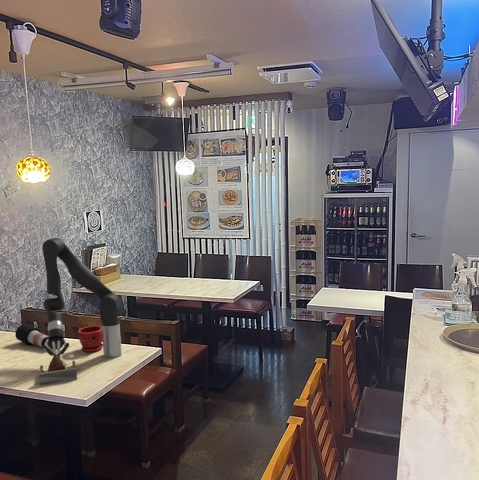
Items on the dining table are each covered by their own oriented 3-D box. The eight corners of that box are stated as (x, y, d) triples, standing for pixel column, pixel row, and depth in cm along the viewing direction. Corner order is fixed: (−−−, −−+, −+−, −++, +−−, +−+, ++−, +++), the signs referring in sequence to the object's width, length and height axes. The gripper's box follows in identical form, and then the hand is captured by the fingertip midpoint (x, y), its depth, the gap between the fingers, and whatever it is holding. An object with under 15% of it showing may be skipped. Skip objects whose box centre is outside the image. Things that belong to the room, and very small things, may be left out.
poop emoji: (44, 372, 233) (43, 354, 232) (61, 368, 239) (60, 350, 238) (52, 378, 226) (51, 359, 225) (69, 373, 231) (68, 355, 230)
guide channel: (40, 370, 236) (39, 360, 236) (75, 365, 242) (74, 355, 242) (39, 385, 218) (38, 374, 218) (77, 379, 224) (76, 369, 224)
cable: (55, 360, 263) (48, 347, 257) (20, 344, 281) (12, 331, 275) (69, 347, 269) (62, 335, 264) (33, 332, 287) (26, 320, 282)
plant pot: (95, 344, 275) (94, 324, 273) (108, 348, 266) (107, 328, 265) (74, 350, 265) (73, 329, 263) (88, 355, 256) (86, 333, 255)
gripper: (41, 329, 240) (42, 360, 230) (68, 326, 245) (71, 356, 235) (42, 336, 246) (43, 367, 236) (69, 333, 251) (71, 363, 241)
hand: (57, 362), depth 236 cm, fingers closed
